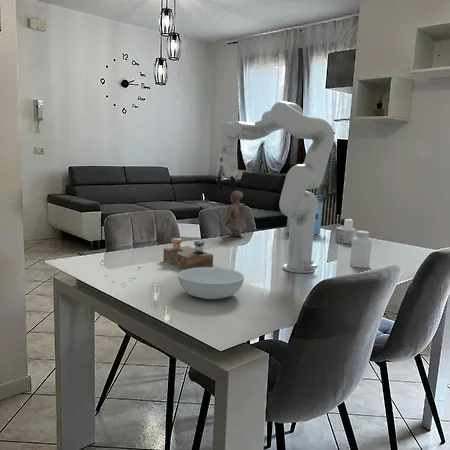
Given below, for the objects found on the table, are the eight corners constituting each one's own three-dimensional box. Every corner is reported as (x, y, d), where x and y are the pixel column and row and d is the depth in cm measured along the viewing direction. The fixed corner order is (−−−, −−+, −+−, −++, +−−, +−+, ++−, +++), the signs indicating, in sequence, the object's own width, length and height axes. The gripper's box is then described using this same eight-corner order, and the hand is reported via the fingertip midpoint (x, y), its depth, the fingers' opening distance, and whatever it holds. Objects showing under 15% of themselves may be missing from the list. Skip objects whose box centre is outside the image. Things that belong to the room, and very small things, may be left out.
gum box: (286, 233, 272) (289, 194, 269) (286, 231, 277) (289, 193, 274) (320, 235, 271) (323, 196, 267) (319, 233, 276) (322, 195, 272)
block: (212, 267, 184) (213, 254, 183) (187, 270, 177) (187, 257, 176) (187, 257, 198) (188, 246, 197) (163, 260, 191) (163, 248, 190)
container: (334, 241, 255) (336, 217, 253) (345, 240, 258) (348, 217, 256) (343, 243, 248) (346, 219, 246) (355, 243, 251) (357, 219, 249)
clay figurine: (236, 233, 262) (238, 189, 259) (250, 236, 256) (252, 191, 252) (220, 235, 253) (223, 190, 249) (234, 238, 246) (237, 191, 242)
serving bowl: (240, 287, 159) (241, 267, 158) (245, 307, 138) (246, 285, 137) (179, 284, 158) (180, 265, 157) (175, 304, 137) (176, 282, 136)
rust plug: (183, 252, 188) (183, 239, 187) (174, 253, 185) (175, 240, 184) (178, 250, 191) (178, 238, 190) (169, 251, 188) (169, 238, 187)
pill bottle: (356, 268, 193) (359, 233, 191) (346, 264, 201) (349, 229, 199) (372, 268, 195) (376, 233, 193) (362, 263, 203) (365, 229, 201)
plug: (205, 255, 185) (206, 242, 184) (197, 256, 182) (197, 243, 181) (200, 253, 188) (200, 240, 187) (191, 253, 185) (192, 241, 185)
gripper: (224, 150, 197) (222, 190, 200) (245, 151, 211) (243, 189, 214) (209, 149, 201) (208, 189, 204) (231, 151, 216) (229, 187, 218)
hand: (226, 189), depth 209 cm, fingers open, 9 cm apart
